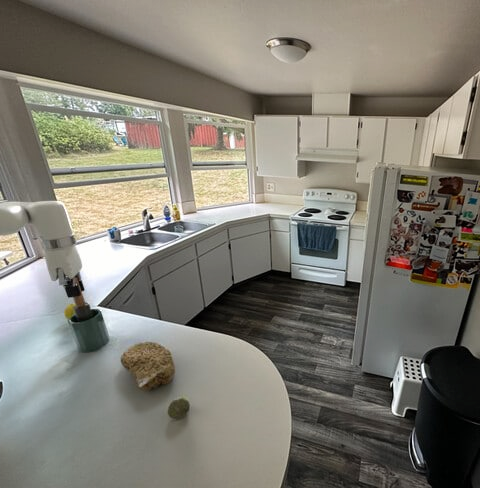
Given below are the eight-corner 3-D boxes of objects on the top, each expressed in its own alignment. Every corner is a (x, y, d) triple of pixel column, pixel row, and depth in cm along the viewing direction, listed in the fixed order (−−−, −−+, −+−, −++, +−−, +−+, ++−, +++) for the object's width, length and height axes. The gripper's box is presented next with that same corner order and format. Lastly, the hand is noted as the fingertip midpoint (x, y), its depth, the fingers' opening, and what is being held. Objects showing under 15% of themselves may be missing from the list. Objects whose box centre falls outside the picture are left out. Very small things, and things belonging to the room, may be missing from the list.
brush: (76, 325, 84) (60, 283, 78) (80, 318, 87) (66, 277, 82) (91, 322, 85) (77, 280, 80) (95, 315, 89) (82, 275, 83)
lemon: (64, 324, 99) (57, 307, 96) (79, 315, 104) (73, 299, 101) (75, 326, 98) (69, 308, 95) (90, 317, 103) (84, 301, 101)
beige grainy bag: (182, 380, 78) (167, 336, 91) (173, 367, 74) (159, 322, 86) (132, 409, 71) (124, 357, 84) (120, 397, 67) (113, 344, 79)
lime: (193, 409, 68) (190, 396, 67) (177, 425, 64) (173, 412, 63) (182, 402, 70) (179, 389, 68) (165, 418, 66) (162, 404, 64)
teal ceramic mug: (74, 355, 84) (63, 326, 80) (83, 339, 91) (73, 312, 87) (106, 347, 88) (96, 319, 84) (112, 333, 95) (103, 306, 91)
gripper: (53, 235, 81) (71, 285, 88) (27, 252, 68) (50, 309, 74) (83, 233, 85) (98, 281, 91) (64, 249, 71) (83, 304, 78)
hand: (76, 293), depth 83 cm, fingers closed on brush, 2 cm apart
